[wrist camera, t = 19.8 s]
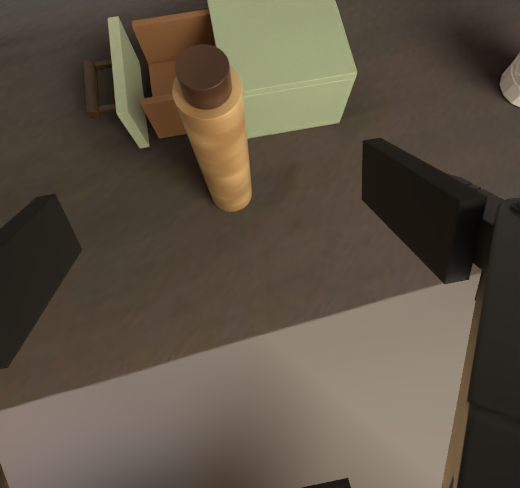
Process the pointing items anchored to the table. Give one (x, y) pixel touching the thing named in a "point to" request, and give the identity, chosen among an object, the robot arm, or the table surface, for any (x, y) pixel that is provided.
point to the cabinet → (286, 61)
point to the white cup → (512, 82)
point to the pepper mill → (215, 123)
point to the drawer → (160, 69)
